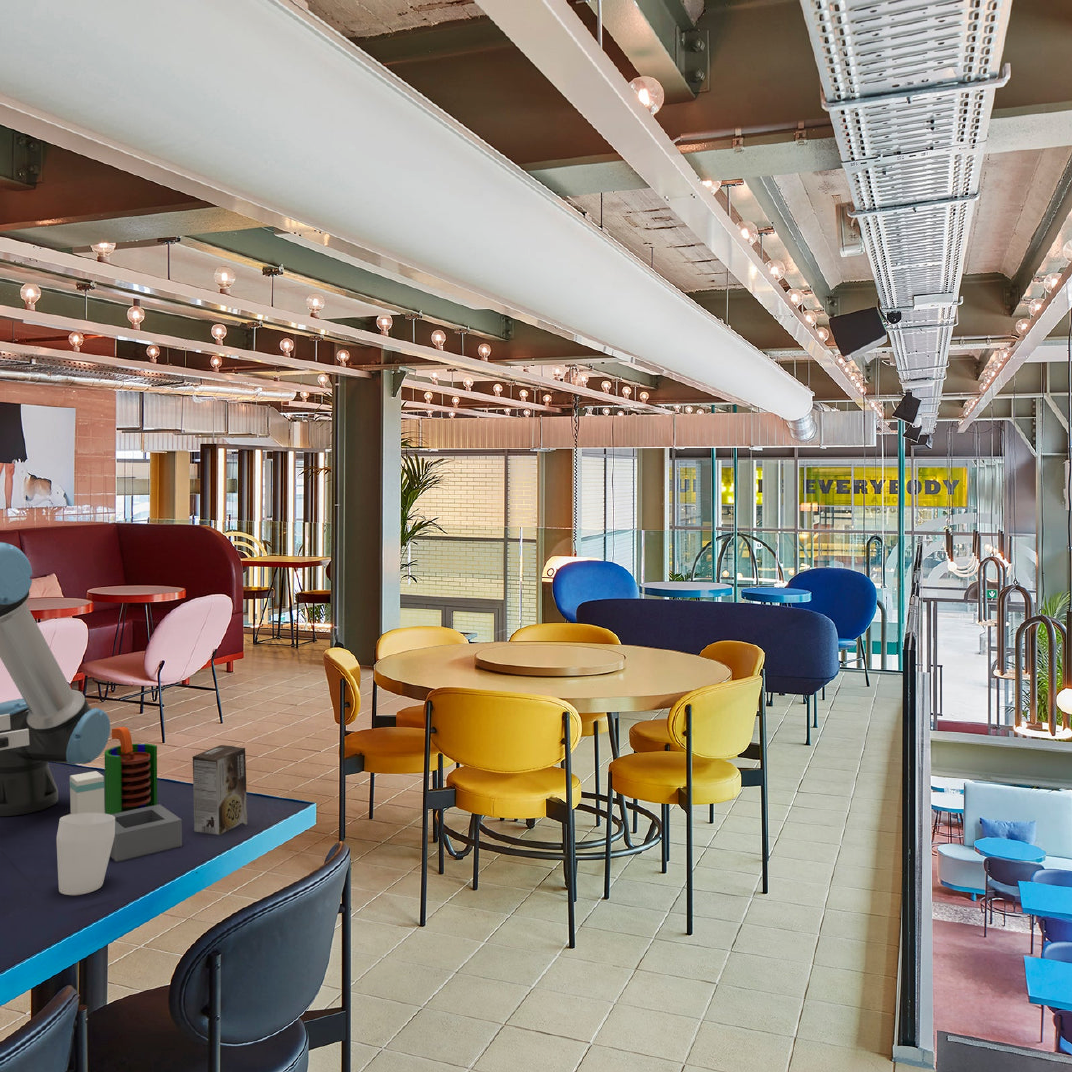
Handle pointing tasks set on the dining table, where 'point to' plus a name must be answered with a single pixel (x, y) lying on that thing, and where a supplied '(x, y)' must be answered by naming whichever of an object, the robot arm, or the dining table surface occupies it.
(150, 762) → the motor
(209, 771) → the coffee box
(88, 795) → the plug
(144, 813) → the socket
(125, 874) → the dining table surface
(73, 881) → the cup
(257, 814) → the dining table surface
